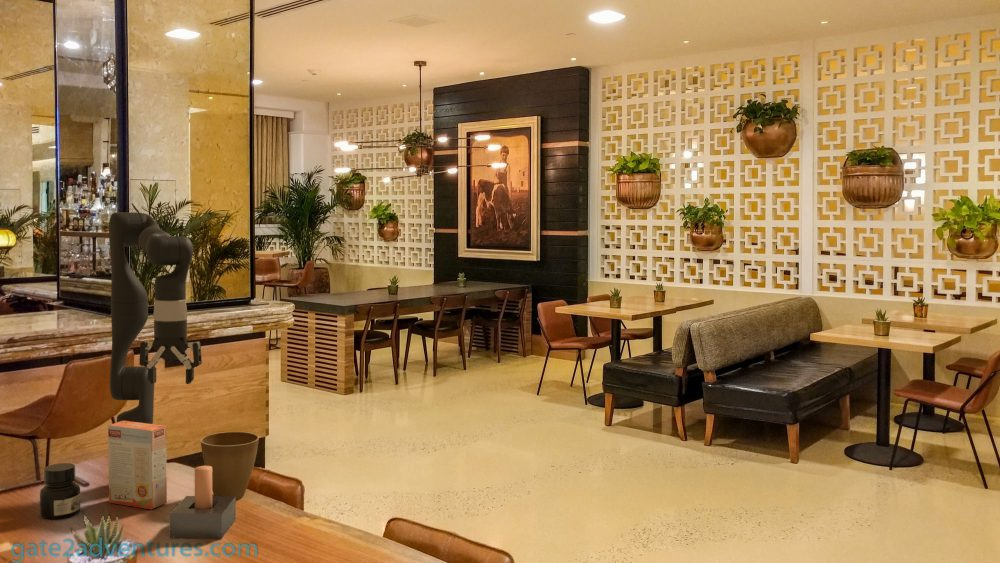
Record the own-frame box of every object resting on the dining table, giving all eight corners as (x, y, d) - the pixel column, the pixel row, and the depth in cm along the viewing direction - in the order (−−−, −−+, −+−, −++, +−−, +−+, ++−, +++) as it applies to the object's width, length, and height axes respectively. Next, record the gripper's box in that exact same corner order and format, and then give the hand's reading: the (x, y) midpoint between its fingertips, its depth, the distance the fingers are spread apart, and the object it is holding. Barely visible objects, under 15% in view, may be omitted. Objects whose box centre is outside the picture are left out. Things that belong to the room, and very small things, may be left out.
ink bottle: (62, 522, 202) (61, 474, 201) (30, 519, 204) (29, 471, 203) (89, 508, 211) (88, 462, 210) (59, 505, 213) (58, 459, 212)
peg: (197, 521, 202) (197, 465, 201) (214, 521, 202) (214, 465, 201) (192, 527, 198) (192, 470, 197) (209, 528, 198) (209, 470, 197)
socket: (186, 519, 206) (186, 495, 206) (235, 519, 207) (235, 496, 206) (169, 538, 194) (169, 513, 194) (221, 538, 195) (221, 513, 194)
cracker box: (168, 503, 217) (167, 424, 215) (151, 511, 211) (150, 430, 209) (125, 496, 221) (124, 419, 220) (107, 503, 216) (106, 424, 214)
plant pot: (257, 504, 218) (257, 444, 217) (197, 507, 214) (197, 447, 213) (259, 485, 232) (260, 429, 231) (203, 488, 229) (203, 431, 227)
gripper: (204, 316, 207) (205, 380, 208) (146, 315, 206) (147, 379, 207) (195, 320, 199) (195, 387, 201) (134, 319, 199) (135, 386, 200)
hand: (170, 383), depth 204 cm, fingers open, 8 cm apart
